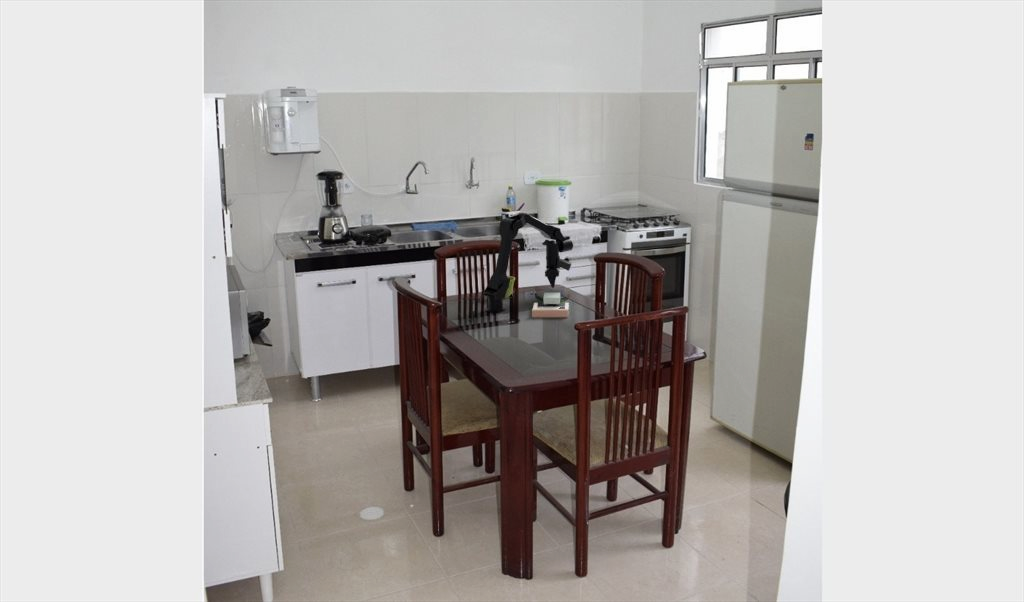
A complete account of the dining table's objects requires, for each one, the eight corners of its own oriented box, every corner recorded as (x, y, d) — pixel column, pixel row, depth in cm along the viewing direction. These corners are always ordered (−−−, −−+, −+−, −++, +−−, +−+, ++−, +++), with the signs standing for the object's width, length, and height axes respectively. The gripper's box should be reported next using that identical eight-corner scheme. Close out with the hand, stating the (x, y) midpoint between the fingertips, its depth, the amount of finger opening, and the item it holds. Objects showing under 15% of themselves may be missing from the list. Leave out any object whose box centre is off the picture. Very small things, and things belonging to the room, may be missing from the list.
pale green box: (544, 300, 353) (544, 289, 352) (560, 300, 352) (560, 289, 351) (543, 306, 343) (543, 295, 342) (559, 306, 343) (559, 295, 341)
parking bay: (534, 307, 343) (534, 300, 342) (568, 307, 341) (568, 300, 341) (532, 317, 328) (531, 310, 327) (568, 317, 327) (567, 310, 326)
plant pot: (515, 299, 357) (515, 280, 354) (494, 299, 357) (494, 281, 355) (515, 293, 366) (515, 275, 363) (495, 294, 366) (494, 276, 364)
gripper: (570, 258, 344) (570, 292, 349) (570, 249, 362) (570, 282, 367) (544, 258, 346) (545, 292, 350) (546, 249, 363) (547, 282, 368)
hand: (552, 287), depth 358 cm, fingers closed
